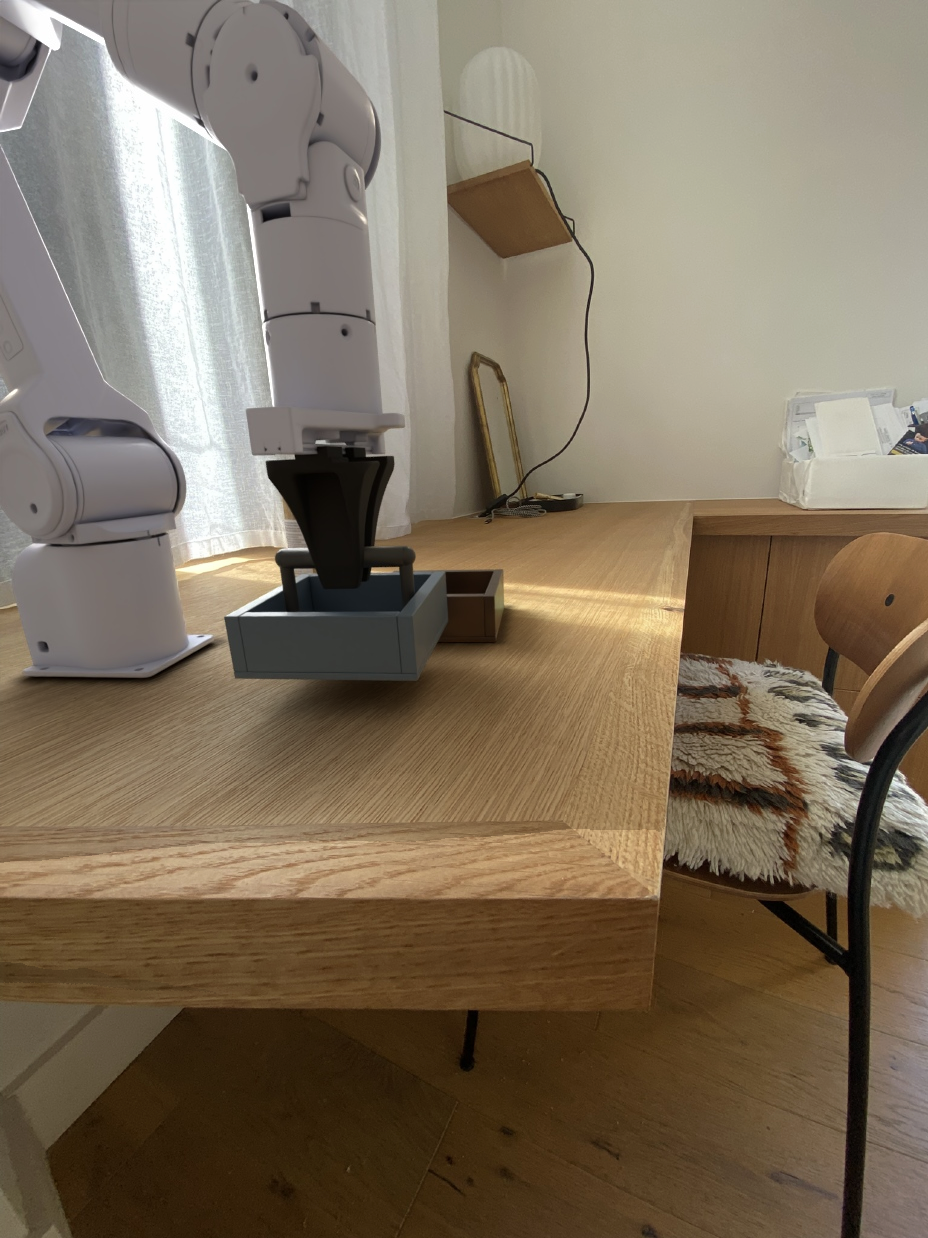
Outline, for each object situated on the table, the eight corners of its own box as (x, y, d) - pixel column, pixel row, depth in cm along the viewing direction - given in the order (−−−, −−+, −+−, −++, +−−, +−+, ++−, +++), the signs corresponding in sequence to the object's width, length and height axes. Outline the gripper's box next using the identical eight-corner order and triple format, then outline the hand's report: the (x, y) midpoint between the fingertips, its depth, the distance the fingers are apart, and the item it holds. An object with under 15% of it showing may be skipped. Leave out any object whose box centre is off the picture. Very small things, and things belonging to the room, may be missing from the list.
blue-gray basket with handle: (234, 679, 30) (214, 567, 28) (308, 622, 39) (296, 535, 37) (417, 681, 28) (408, 563, 27) (448, 621, 38) (443, 531, 36)
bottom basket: (364, 641, 42) (360, 597, 41) (396, 607, 52) (393, 570, 51) (495, 642, 41) (494, 596, 40) (504, 607, 50) (503, 569, 49)
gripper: (349, 278, 21) (379, 618, 25) (424, 347, 35) (436, 560, 39) (179, 294, 22) (233, 619, 26) (317, 355, 36) (339, 562, 40)
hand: (346, 584), depth 33 cm, fingers closed on blue-gray basket with handle
